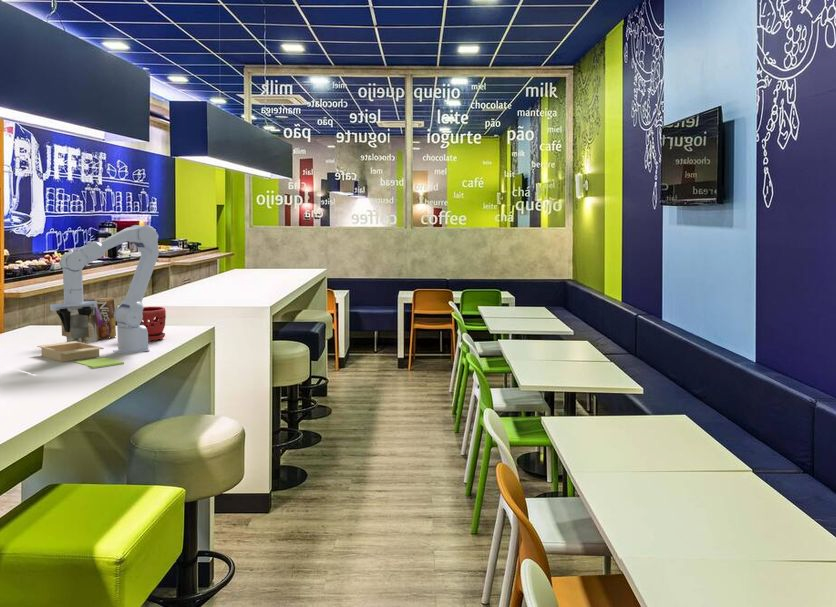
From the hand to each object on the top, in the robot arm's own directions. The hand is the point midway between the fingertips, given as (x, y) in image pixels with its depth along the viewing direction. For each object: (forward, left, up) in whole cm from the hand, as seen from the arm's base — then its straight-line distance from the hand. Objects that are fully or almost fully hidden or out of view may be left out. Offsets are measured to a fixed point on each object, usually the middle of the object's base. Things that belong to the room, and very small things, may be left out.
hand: (75, 330), depth 242 cm
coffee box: (-15, -25, -9) cm, 31 cm away
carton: (0, -3, -9) cm, 10 cm away
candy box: (-26, -31, -9) cm, 42 cm away
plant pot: (-36, -16, -9) cm, 41 cm away
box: (0, 0, -2) cm, 2 cm away
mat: (-1, +13, -9) cm, 16 cm away
